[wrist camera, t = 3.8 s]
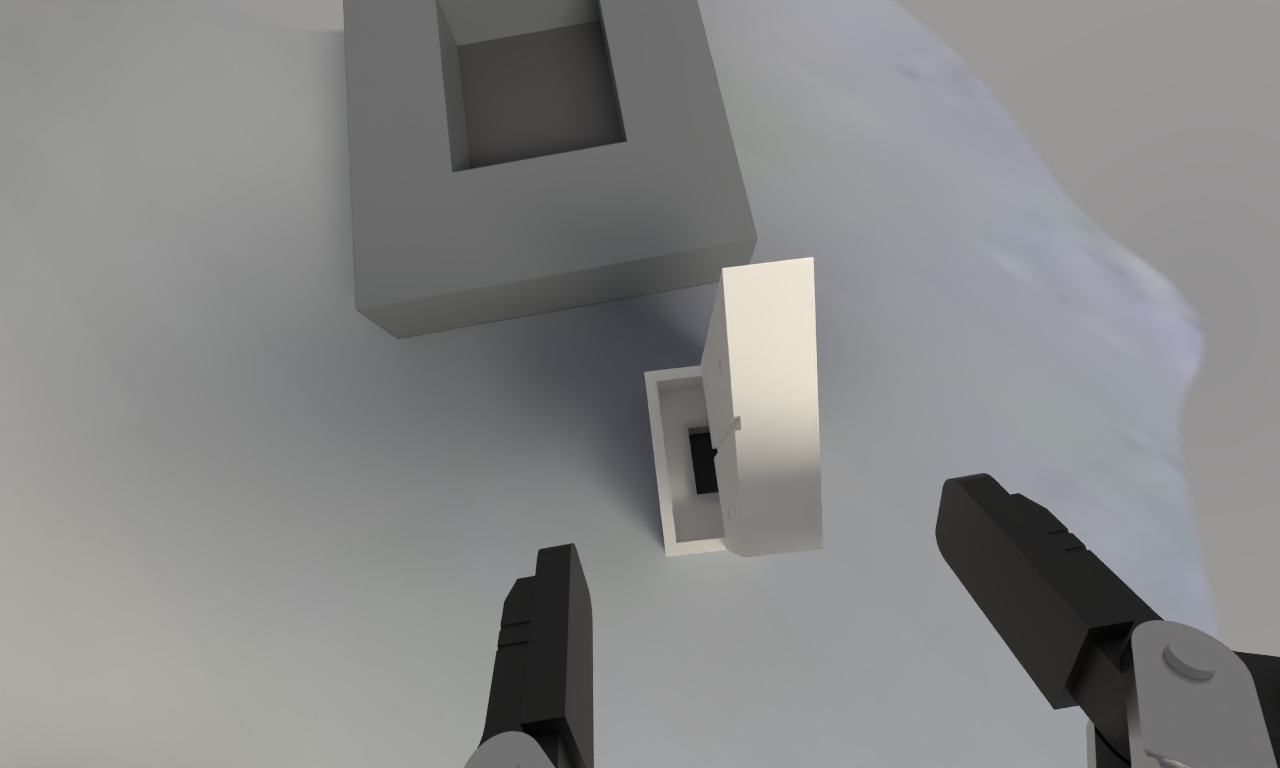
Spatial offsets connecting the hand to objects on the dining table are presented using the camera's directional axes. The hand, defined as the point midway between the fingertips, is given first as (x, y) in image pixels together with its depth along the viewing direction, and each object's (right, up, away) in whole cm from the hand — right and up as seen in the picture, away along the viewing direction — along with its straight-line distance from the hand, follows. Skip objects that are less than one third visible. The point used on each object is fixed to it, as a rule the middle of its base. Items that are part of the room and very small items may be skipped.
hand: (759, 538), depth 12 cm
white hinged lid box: (0, 0, +8) cm, 8 cm away
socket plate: (-7, +15, +12) cm, 20 cm away
